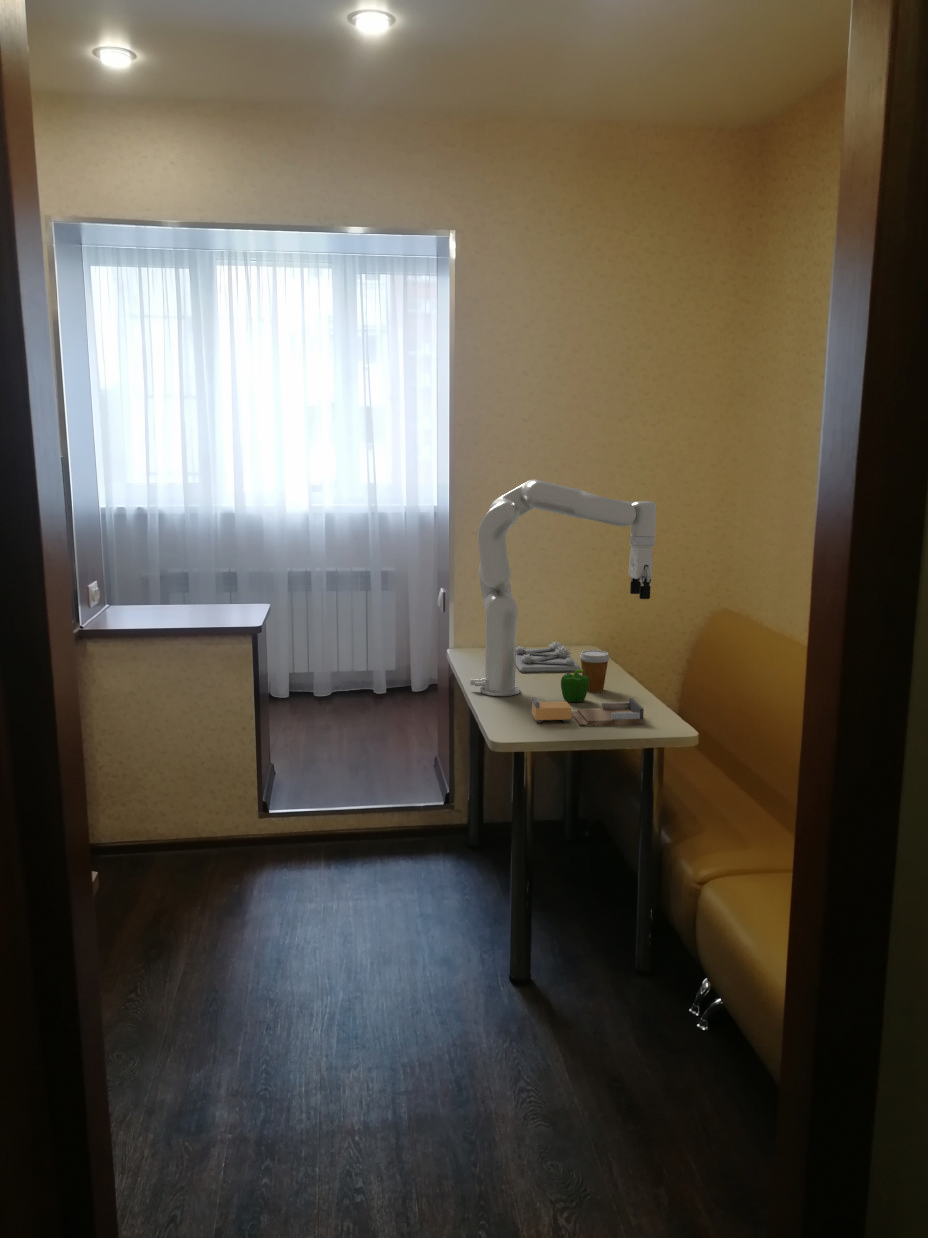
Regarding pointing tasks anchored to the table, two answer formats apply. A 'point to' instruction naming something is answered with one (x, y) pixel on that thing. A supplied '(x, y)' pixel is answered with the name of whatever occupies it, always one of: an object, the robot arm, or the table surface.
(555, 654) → the decorative plate
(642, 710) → the loading dock
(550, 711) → the orange block
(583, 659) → the disposable coffee cup
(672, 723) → the table surface
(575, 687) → the bell pepper
